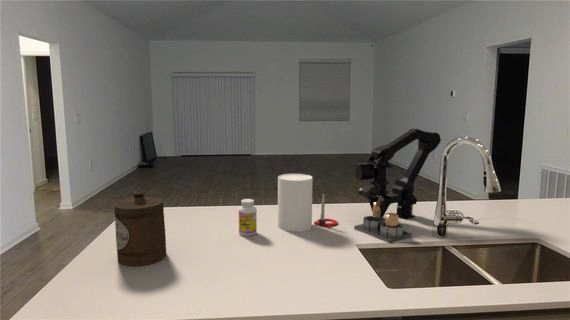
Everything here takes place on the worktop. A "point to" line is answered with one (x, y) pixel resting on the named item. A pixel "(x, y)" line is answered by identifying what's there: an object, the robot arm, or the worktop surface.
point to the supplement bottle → (247, 218)
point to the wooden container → (140, 230)
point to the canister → (295, 202)
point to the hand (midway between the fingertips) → (378, 214)
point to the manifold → (383, 228)
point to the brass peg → (377, 209)
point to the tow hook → (322, 221)
